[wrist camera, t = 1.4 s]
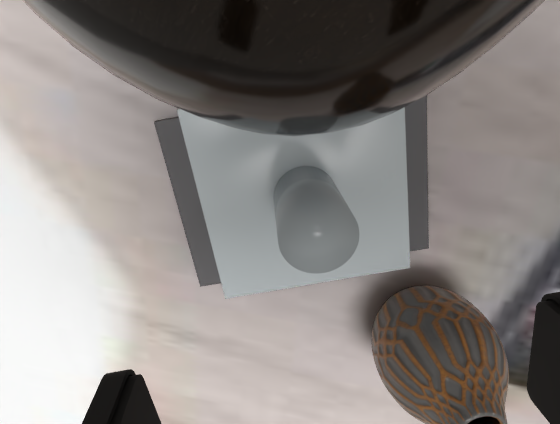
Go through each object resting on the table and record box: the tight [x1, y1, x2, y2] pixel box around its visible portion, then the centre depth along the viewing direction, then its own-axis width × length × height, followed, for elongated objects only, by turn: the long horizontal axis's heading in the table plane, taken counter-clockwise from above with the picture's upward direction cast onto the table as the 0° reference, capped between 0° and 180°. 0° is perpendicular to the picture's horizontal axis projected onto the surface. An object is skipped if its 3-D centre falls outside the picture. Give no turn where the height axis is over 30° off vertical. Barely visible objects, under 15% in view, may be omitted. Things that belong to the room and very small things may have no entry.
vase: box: [372, 286, 509, 424], centre depth 22 cm, size 7×7×9 cm
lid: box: [177, 107, 410, 299], centre depth 19 cm, size 11×11×6 cm
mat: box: [154, 95, 429, 286], centre depth 22 cm, size 14×10×1 cm
